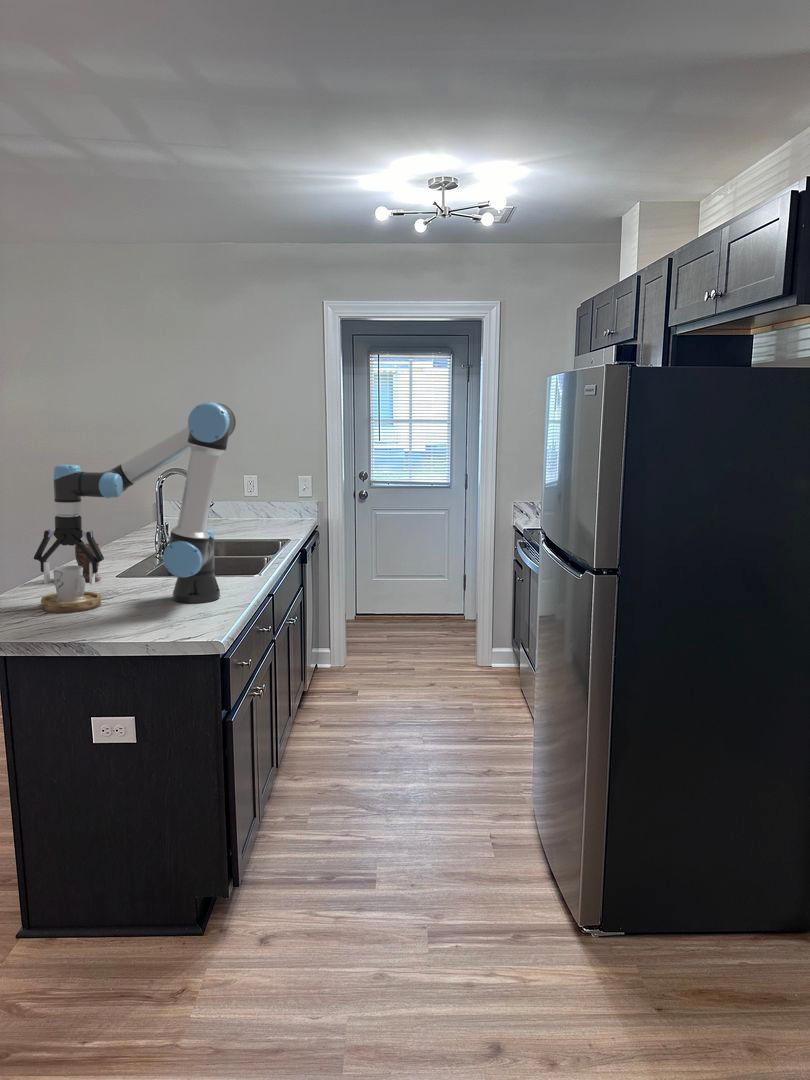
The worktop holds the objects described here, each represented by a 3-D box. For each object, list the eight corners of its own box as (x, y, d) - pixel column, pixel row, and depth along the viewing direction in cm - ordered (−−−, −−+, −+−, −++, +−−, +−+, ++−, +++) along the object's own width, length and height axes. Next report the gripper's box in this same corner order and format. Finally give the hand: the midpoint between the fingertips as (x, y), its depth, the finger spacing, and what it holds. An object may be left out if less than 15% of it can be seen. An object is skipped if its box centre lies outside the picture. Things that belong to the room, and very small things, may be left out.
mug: (96, 600, 239) (95, 568, 237) (72, 605, 231) (71, 572, 230) (72, 595, 244) (71, 564, 243) (48, 599, 237) (47, 568, 235)
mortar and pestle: (89, 585, 268) (87, 529, 265) (66, 584, 269) (64, 528, 266) (106, 578, 279) (104, 524, 276) (84, 577, 280) (82, 523, 277)
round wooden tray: (111, 606, 239) (111, 597, 239) (57, 615, 226) (57, 606, 226) (84, 597, 250) (84, 588, 250) (32, 605, 237) (31, 597, 237)
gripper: (113, 514, 239) (114, 581, 242) (30, 512, 236) (32, 579, 240) (106, 518, 231) (107, 586, 235) (20, 515, 229) (23, 584, 232)
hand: (69, 583), depth 237 cm, fingers open, 13 cm apart
